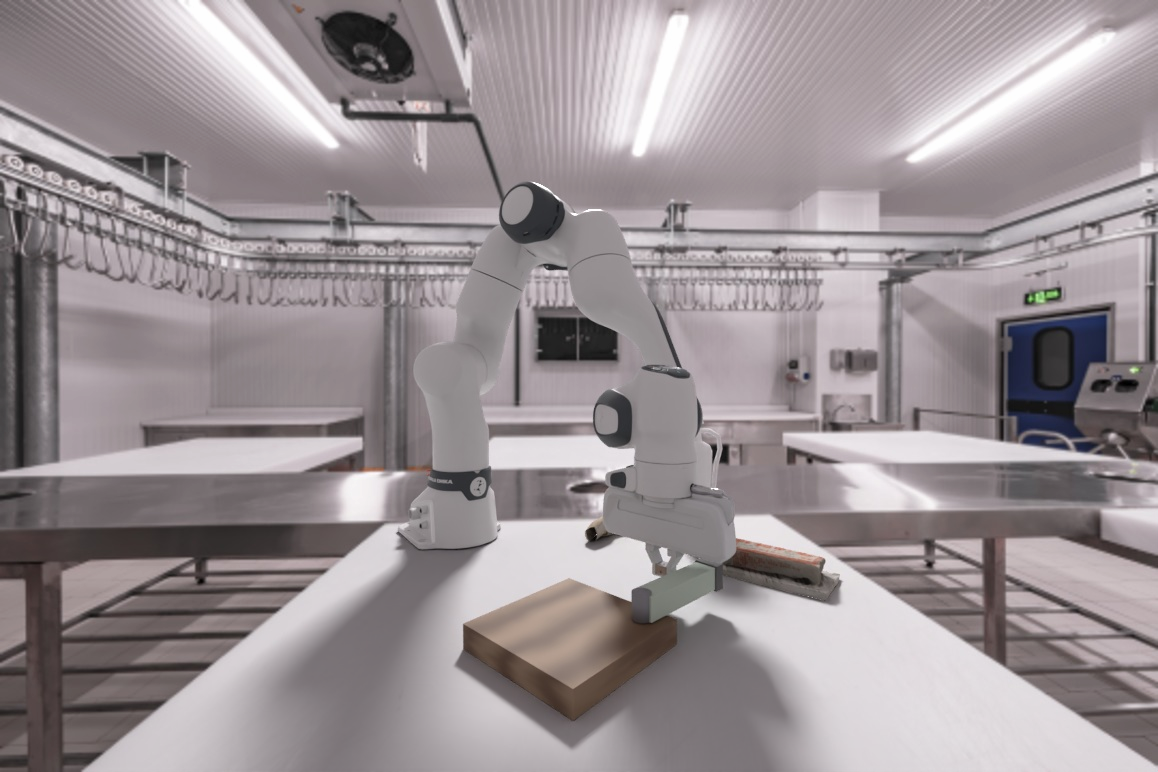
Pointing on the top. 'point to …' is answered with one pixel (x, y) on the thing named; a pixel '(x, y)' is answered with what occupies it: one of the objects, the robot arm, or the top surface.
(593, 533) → the bone fragment
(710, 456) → the fire extinguisher
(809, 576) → the packaged product
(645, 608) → the hinged leg
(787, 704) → the top surface
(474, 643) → the stool seat
